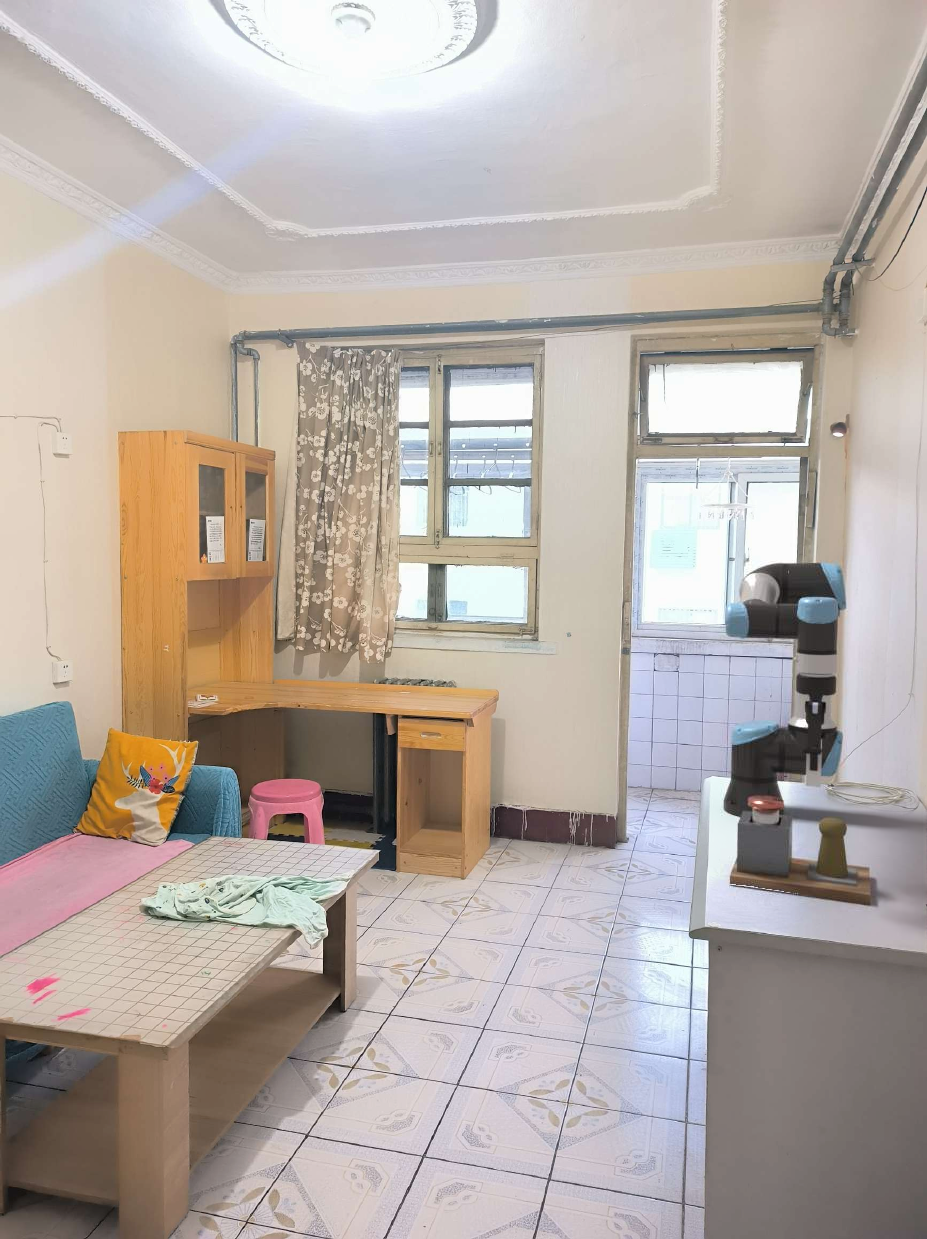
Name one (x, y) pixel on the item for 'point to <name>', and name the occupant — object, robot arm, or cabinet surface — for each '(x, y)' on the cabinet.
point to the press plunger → (765, 809)
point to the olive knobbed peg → (832, 848)
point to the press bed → (812, 882)
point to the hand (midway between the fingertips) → (813, 777)
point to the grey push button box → (764, 846)
